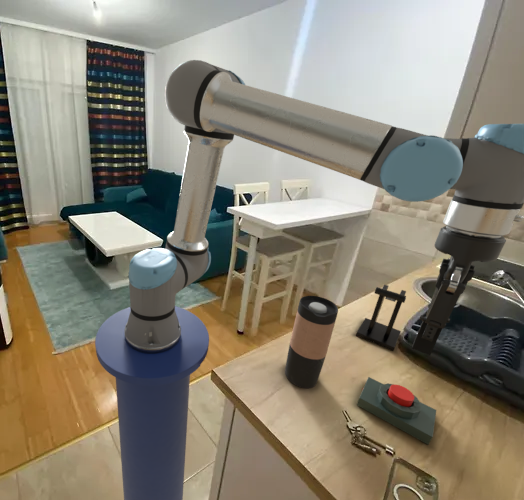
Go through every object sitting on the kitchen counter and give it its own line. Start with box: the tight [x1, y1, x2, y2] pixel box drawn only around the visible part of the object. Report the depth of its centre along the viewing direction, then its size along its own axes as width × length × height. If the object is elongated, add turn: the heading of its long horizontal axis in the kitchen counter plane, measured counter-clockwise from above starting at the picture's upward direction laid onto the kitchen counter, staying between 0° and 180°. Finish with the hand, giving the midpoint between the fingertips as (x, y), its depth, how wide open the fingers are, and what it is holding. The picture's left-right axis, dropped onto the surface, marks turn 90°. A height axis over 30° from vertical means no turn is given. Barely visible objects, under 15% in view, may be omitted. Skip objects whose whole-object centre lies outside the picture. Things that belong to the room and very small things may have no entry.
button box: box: [356, 376, 437, 445], centre depth 60 cm, size 12×8×4 cm, turn 46°
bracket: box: [355, 284, 407, 352], centre depth 81 cm, size 10×9×15 cm
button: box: [388, 384, 415, 407], centre depth 59 cm, size 4×4×2 cm
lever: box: [374, 286, 407, 304], centre depth 75 cm, size 13×6×2 cm, turn 136°
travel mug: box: [284, 295, 339, 389], centre depth 65 cm, size 8×8×20 cm
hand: (421, 349), depth 54 cm, fingers closed
